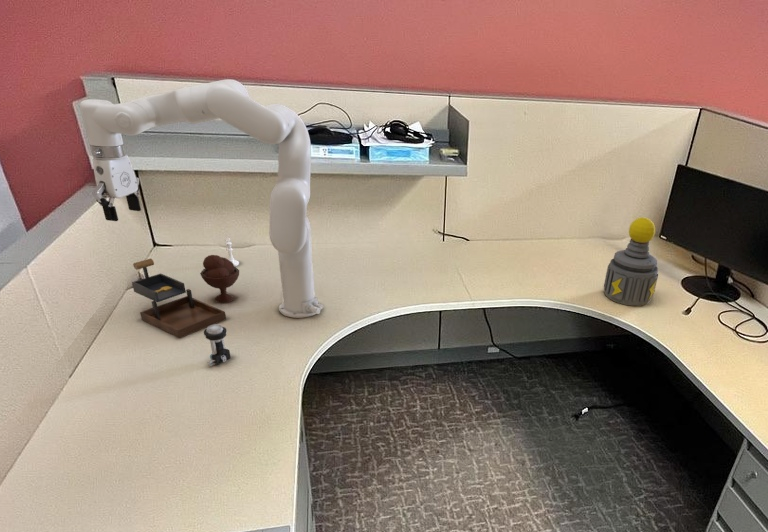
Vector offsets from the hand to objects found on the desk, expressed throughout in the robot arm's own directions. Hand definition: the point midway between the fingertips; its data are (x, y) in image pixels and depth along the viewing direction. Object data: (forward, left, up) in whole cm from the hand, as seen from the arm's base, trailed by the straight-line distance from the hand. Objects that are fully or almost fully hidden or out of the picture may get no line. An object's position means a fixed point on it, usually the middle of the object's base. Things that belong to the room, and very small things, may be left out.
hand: (124, 215), depth 156 cm
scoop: (-5, -2, -23) cm, 23 cm away
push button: (-42, +7, -29) cm, 51 cm away
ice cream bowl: (-12, -18, -29) cm, 36 cm away
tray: (-15, -2, -29) cm, 32 cm away
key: (-6, -2, -22) cm, 23 cm away
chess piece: (+10, -38, -29) cm, 49 cm away
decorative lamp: (-116, -112, -29) cm, 164 cm away
